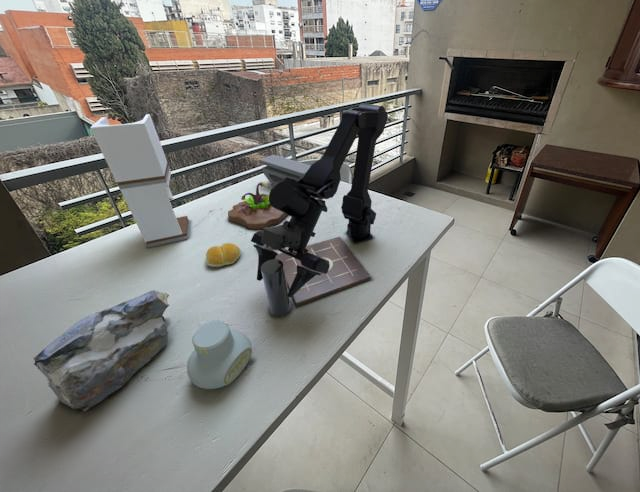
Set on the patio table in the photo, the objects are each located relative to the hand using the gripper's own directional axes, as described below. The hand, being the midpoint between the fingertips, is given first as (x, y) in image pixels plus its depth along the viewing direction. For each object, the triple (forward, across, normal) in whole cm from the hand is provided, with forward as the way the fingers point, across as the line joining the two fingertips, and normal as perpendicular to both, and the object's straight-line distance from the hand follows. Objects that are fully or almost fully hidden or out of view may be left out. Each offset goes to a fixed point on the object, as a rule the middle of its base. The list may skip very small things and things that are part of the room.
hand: (273, 288), depth 61 cm
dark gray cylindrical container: (+4, 0, +6) cm, 7 cm away
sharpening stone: (-30, -43, +40) cm, 66 cm away
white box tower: (+2, -52, +8) cm, 52 cm away
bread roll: (+2, -27, +9) cm, 28 cm away
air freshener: (+16, +1, -5) cm, 17 cm away
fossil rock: (+22, -14, -11) cm, 28 cm away
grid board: (-7, -1, +17) cm, 18 cm away
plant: (-15, -37, +26) cm, 47 cm away
